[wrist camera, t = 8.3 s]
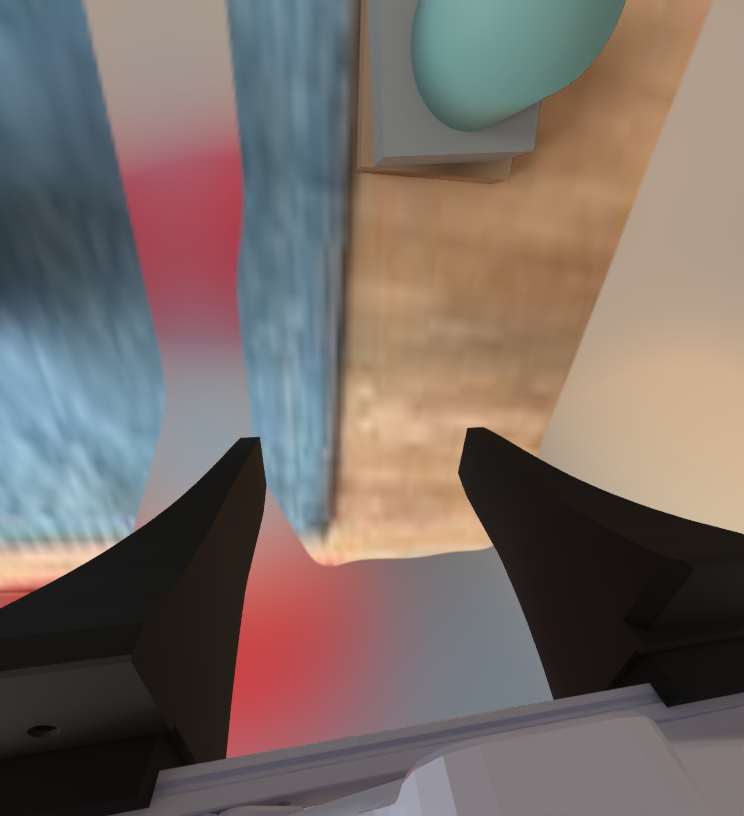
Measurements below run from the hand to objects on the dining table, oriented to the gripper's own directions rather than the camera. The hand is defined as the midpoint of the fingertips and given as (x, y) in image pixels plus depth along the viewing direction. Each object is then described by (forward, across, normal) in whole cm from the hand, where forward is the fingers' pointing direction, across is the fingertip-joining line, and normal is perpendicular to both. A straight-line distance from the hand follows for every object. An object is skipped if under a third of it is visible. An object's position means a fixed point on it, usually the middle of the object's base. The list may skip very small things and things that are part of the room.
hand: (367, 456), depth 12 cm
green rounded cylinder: (+6, -4, -13) cm, 15 cm away
